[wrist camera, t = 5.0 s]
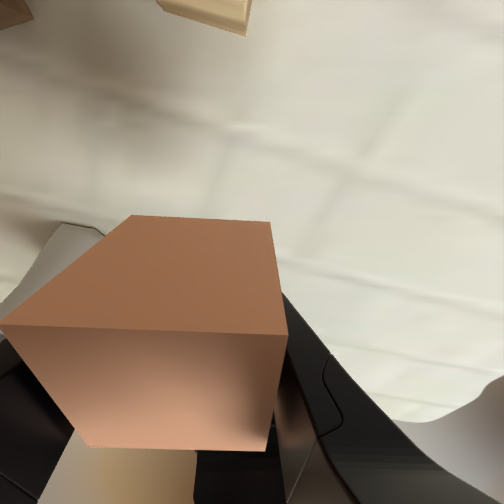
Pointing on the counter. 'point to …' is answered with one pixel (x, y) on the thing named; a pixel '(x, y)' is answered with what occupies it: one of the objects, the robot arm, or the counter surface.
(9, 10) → the walnut block
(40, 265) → the flask
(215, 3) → the maple block
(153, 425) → the terracotta block
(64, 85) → the counter surface
